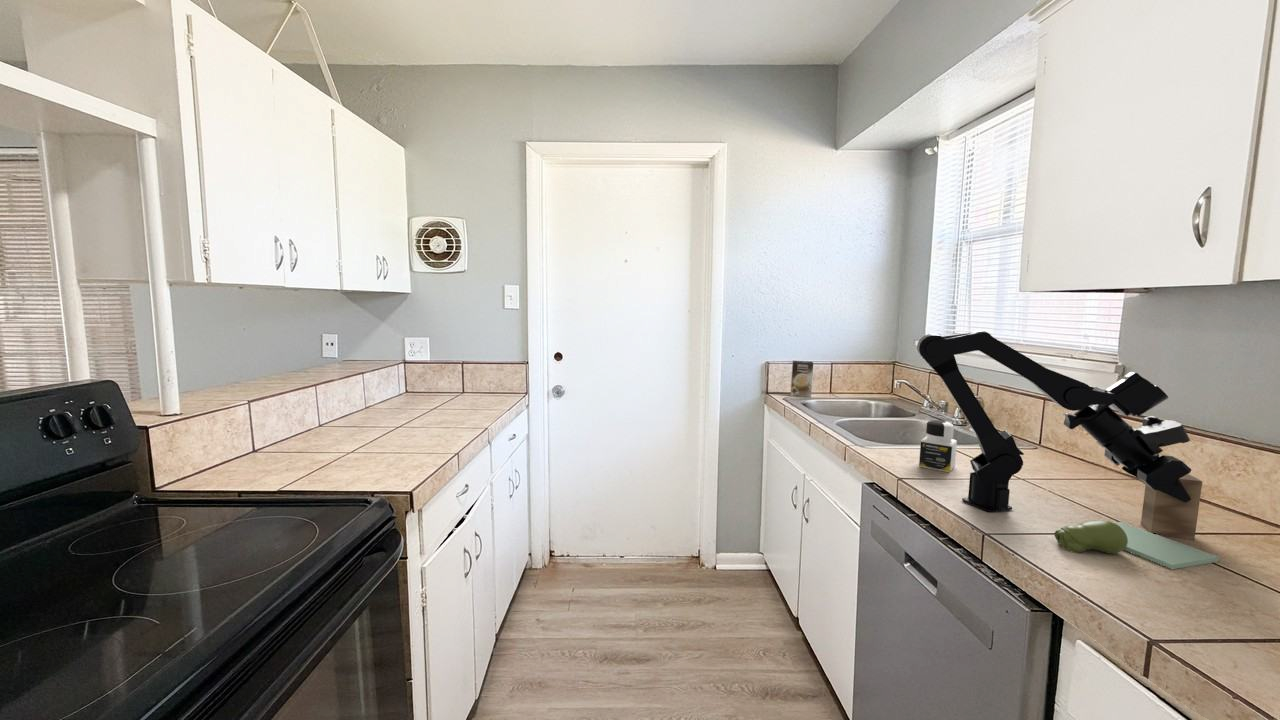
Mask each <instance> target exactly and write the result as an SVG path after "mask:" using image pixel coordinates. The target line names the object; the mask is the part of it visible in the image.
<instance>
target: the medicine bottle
mask: <svg viewBox="0 0 1280 720" xmlns="http://www.w3.org/2000/svg"><path fill="white" fill-rule="evenodd" d="M954 429H955V427H954V425H953V423H952V422H950V421H945V420H938V419H937V420H936V419H935V420H934V419H933V420H930V421H927V422H926V431H925V434H926V436H925V437H924V438H922V439H921V440H920V447H919V448H920V449H919V461H918V462H919V463H918V466H919V467H921V468H924V469H930V470H935V471H940V472H945V473H951V472H952V470H953V469H954V468H955V466H956V460H957V459H956V456H957V445H958V440H956V439H954Z"/></svg>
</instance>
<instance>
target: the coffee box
mask: <svg viewBox="0 0 1280 720" xmlns="http://www.w3.org/2000/svg"><path fill="white" fill-rule="evenodd" d="M791 365H792V368H791V381H790V383H791V384H790V397H795V398H796V397H797V398H810V399H811V398H812V391H813V374H814V362H813V361H808V360H806V361H805V360H792V363H791Z"/></svg>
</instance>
